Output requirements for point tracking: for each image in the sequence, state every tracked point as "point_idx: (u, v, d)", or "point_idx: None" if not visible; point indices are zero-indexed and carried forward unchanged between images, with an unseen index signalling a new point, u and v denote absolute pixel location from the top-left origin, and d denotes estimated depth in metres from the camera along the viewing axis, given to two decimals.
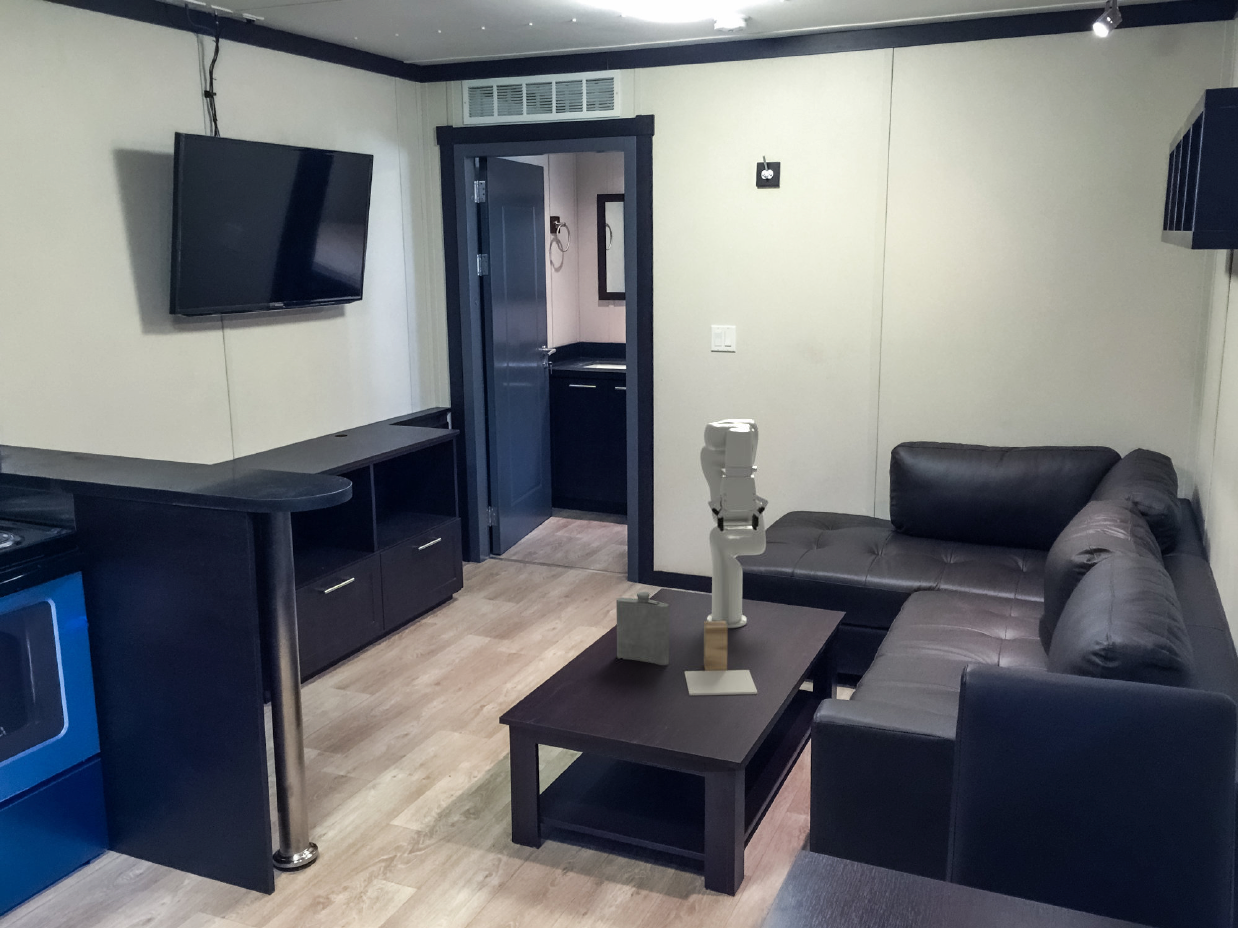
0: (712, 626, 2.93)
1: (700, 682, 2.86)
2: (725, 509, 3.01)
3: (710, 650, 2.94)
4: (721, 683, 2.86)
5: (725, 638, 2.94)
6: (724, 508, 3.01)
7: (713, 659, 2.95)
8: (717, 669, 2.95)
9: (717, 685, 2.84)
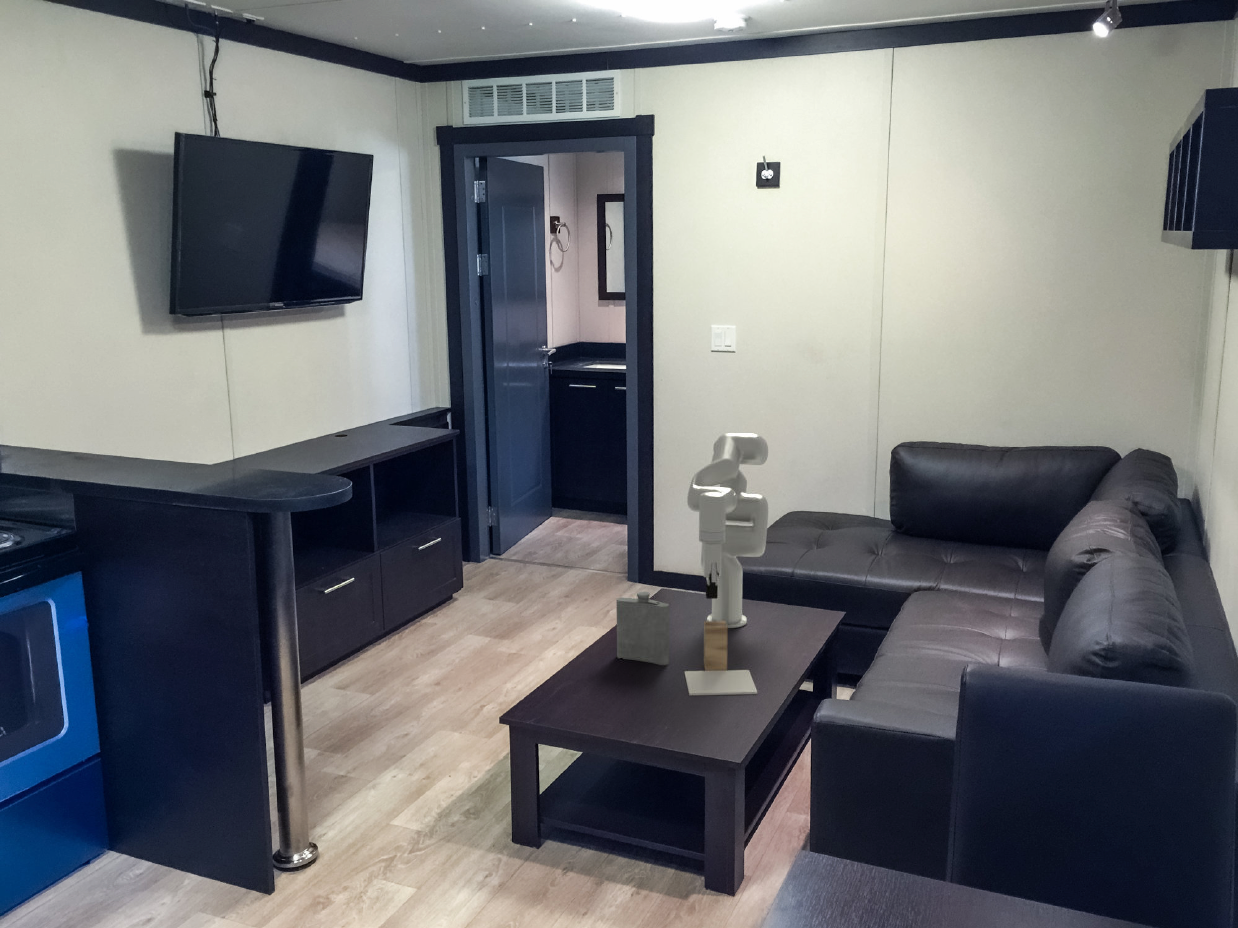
0: (712, 626, 2.93)
1: (700, 682, 2.86)
2: None
3: (710, 650, 2.94)
4: (721, 683, 2.86)
5: (725, 638, 2.94)
6: (720, 574, 2.98)
7: (713, 659, 2.95)
8: (717, 669, 2.95)
9: (717, 685, 2.84)
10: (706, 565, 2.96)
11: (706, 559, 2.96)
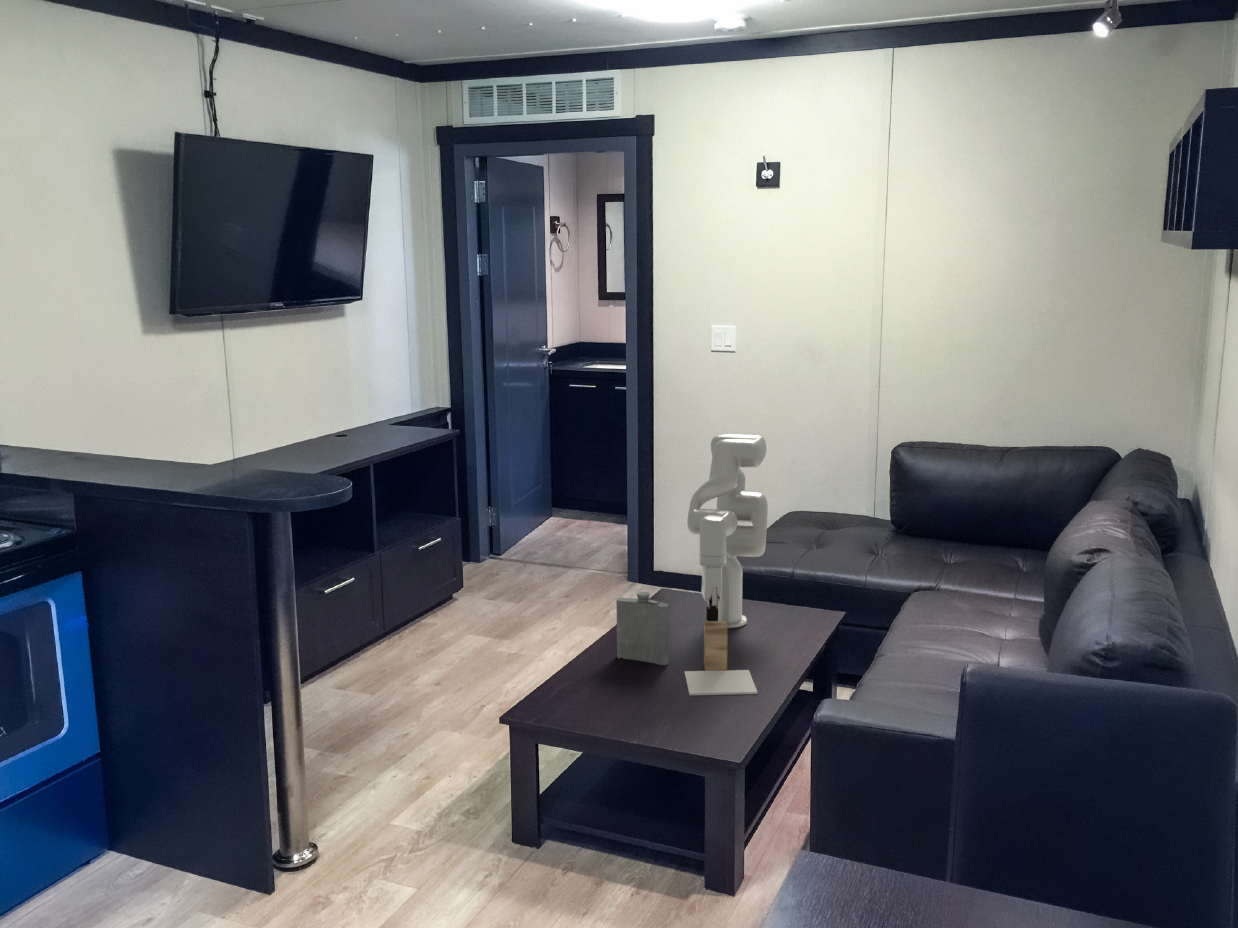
0: (712, 626, 2.93)
1: (700, 682, 2.86)
2: (720, 598, 2.98)
3: (710, 650, 2.94)
4: (721, 683, 2.86)
5: (725, 638, 2.94)
6: (721, 598, 2.98)
7: (713, 659, 2.95)
8: (717, 669, 2.95)
9: (717, 685, 2.84)
10: (707, 589, 2.96)
11: (707, 583, 2.96)
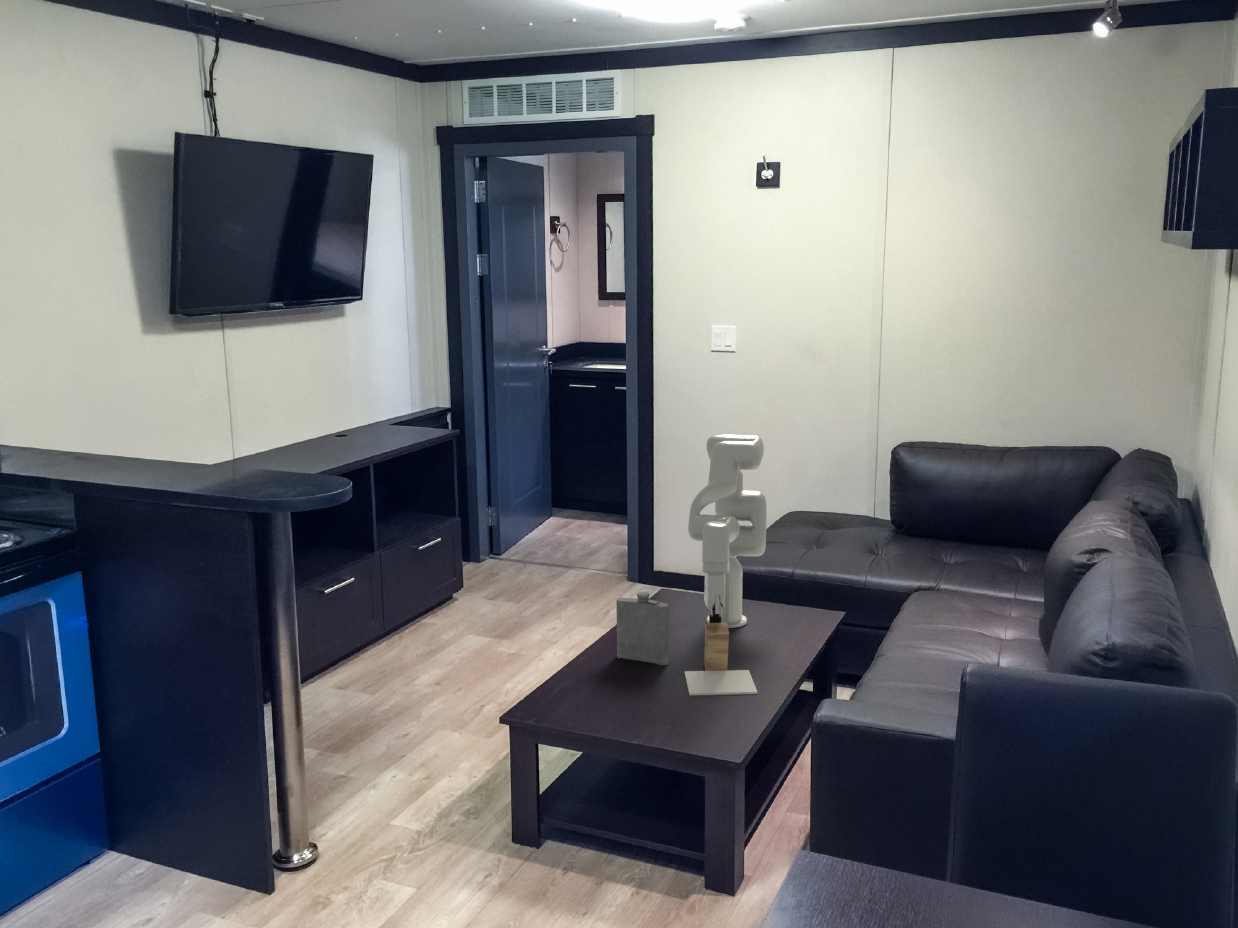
0: (714, 633, 2.90)
1: (700, 682, 2.86)
2: (724, 606, 2.91)
3: (711, 654, 2.93)
4: (721, 683, 2.86)
5: (726, 643, 2.91)
6: (724, 606, 2.91)
7: (713, 661, 2.94)
8: (717, 669, 2.95)
9: (717, 685, 2.84)
10: (709, 597, 2.89)
11: (709, 590, 2.89)
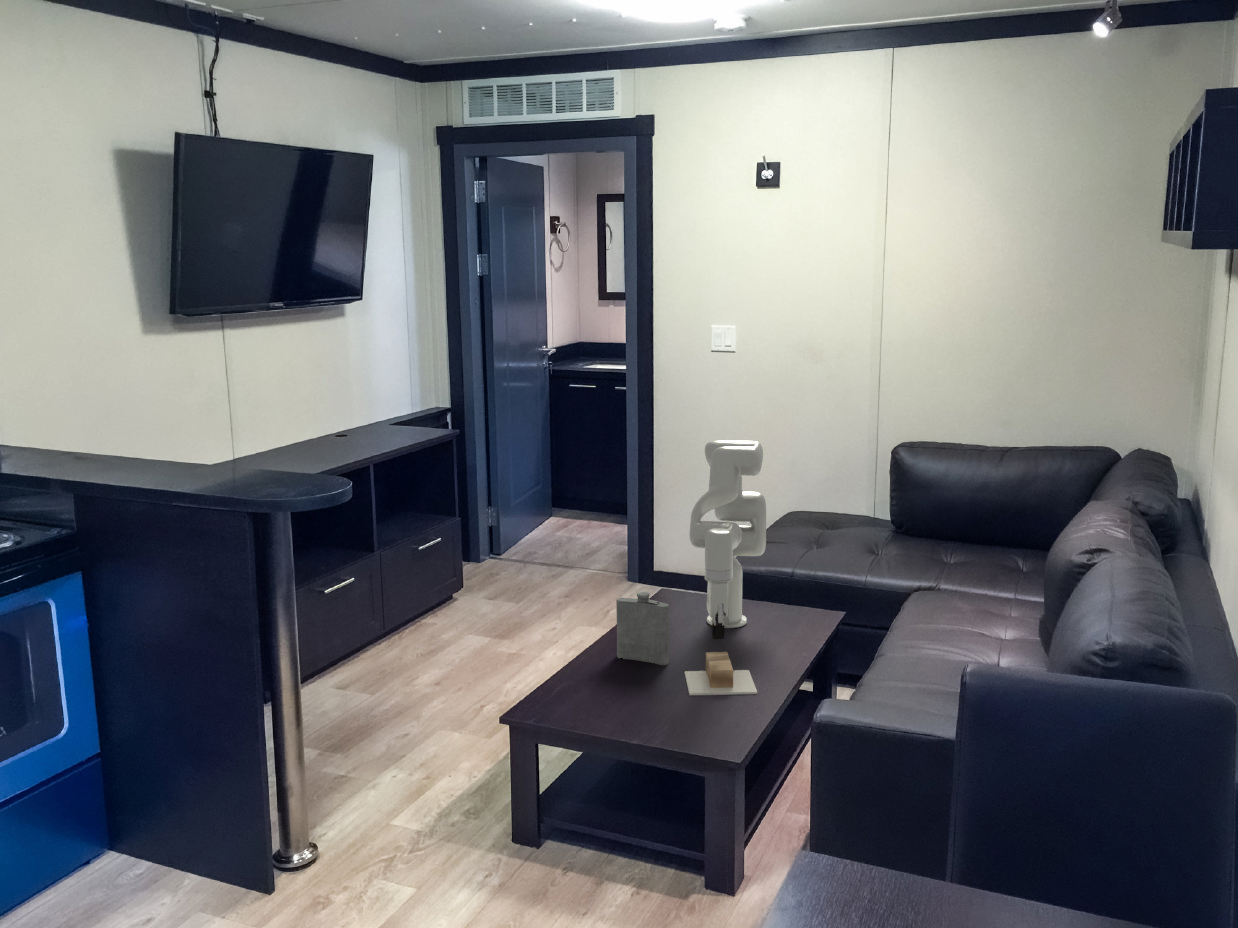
0: (717, 686, 2.83)
1: (700, 682, 2.86)
2: (727, 615, 2.84)
3: None
4: None
5: None
6: (727, 614, 2.84)
7: None
8: None
9: None
10: (712, 605, 2.83)
11: (712, 599, 2.83)
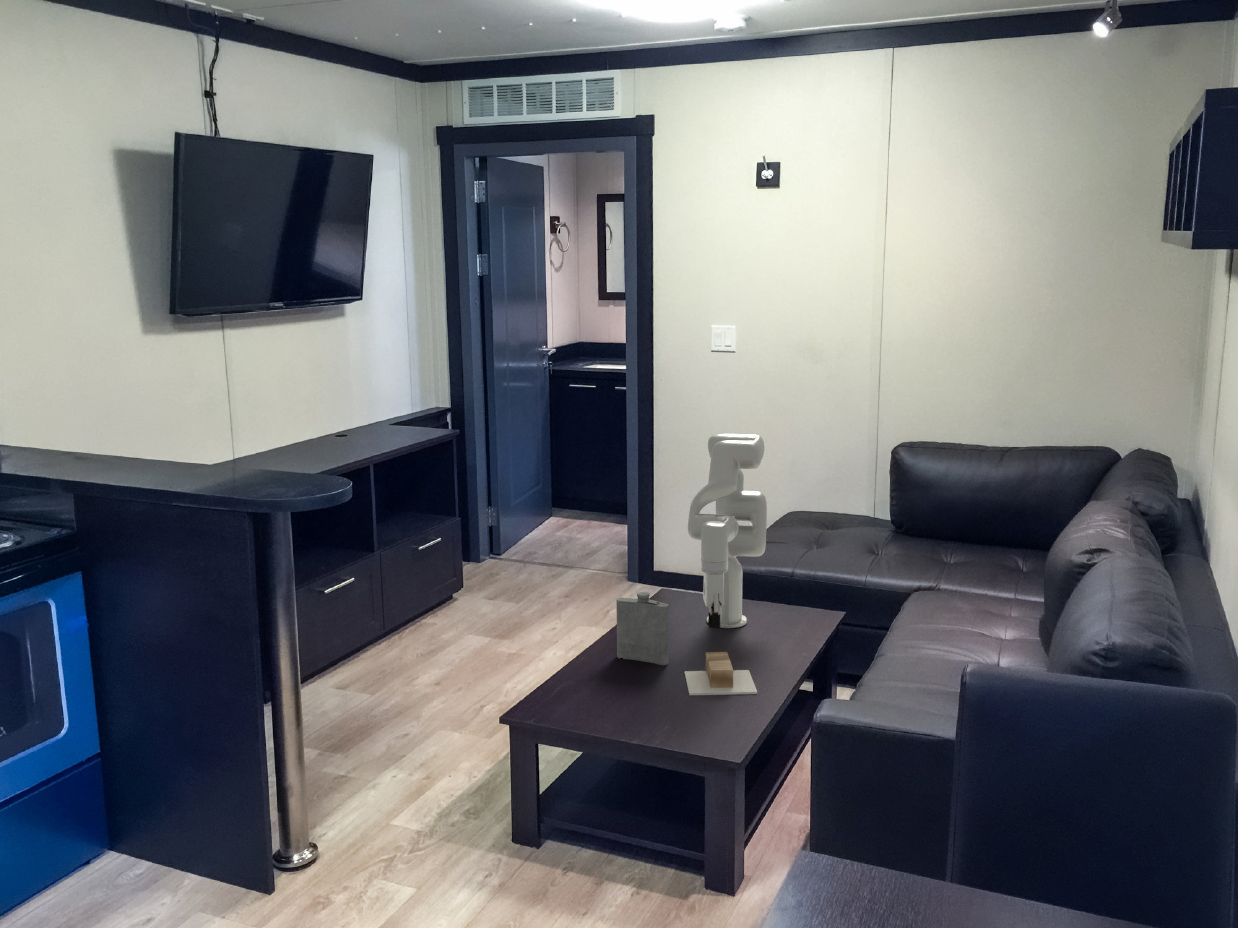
0: (717, 686, 2.83)
1: (700, 682, 2.86)
2: (722, 605, 2.94)
3: None
4: None
5: None
6: (723, 604, 2.94)
7: None
8: None
9: None
10: (708, 595, 2.93)
11: (708, 589, 2.93)
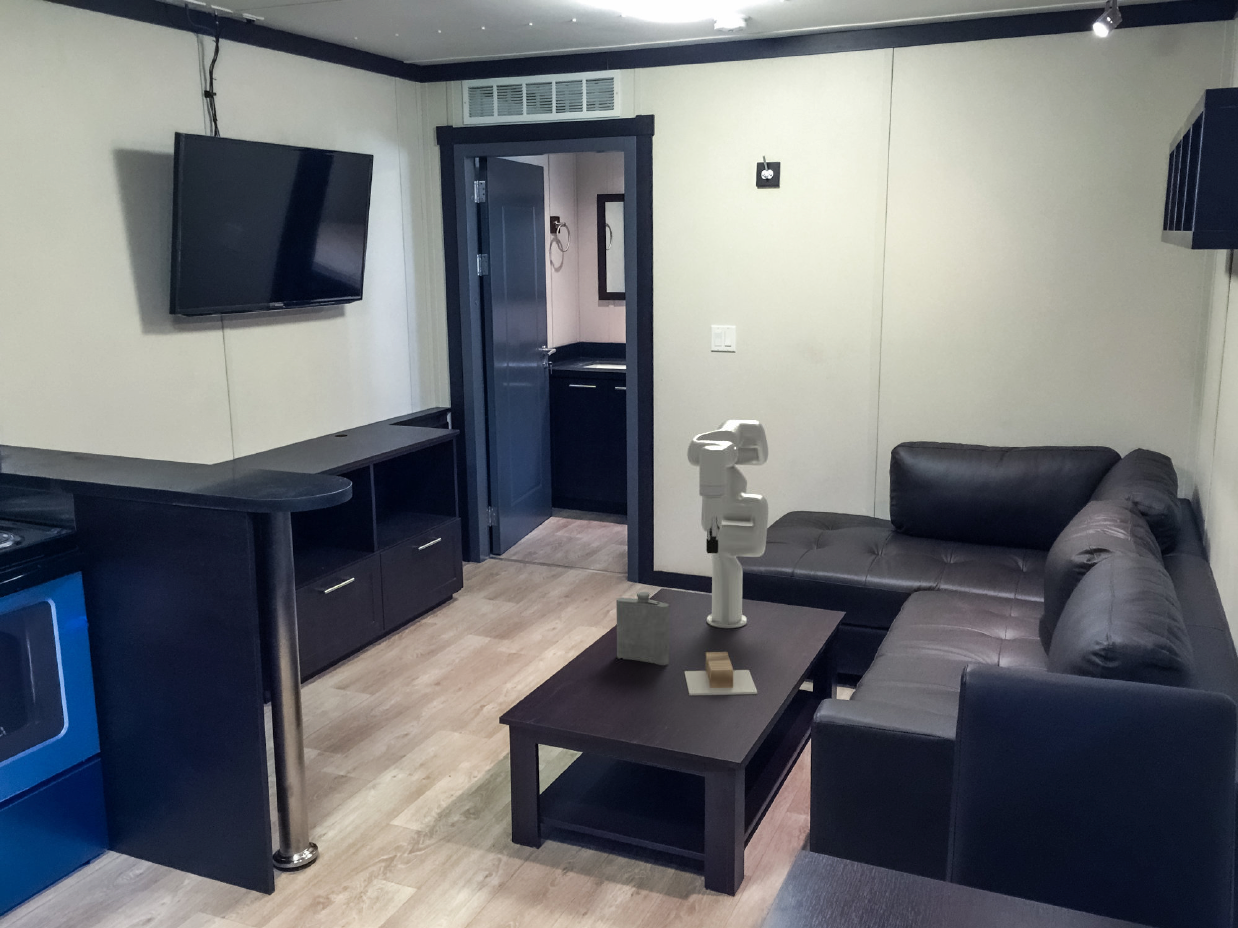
0: (717, 686, 2.83)
1: (700, 682, 2.86)
2: (720, 529, 2.96)
3: None
4: None
5: None
6: (721, 528, 2.95)
7: None
8: None
9: None
10: (706, 519, 2.94)
11: (706, 513, 2.94)
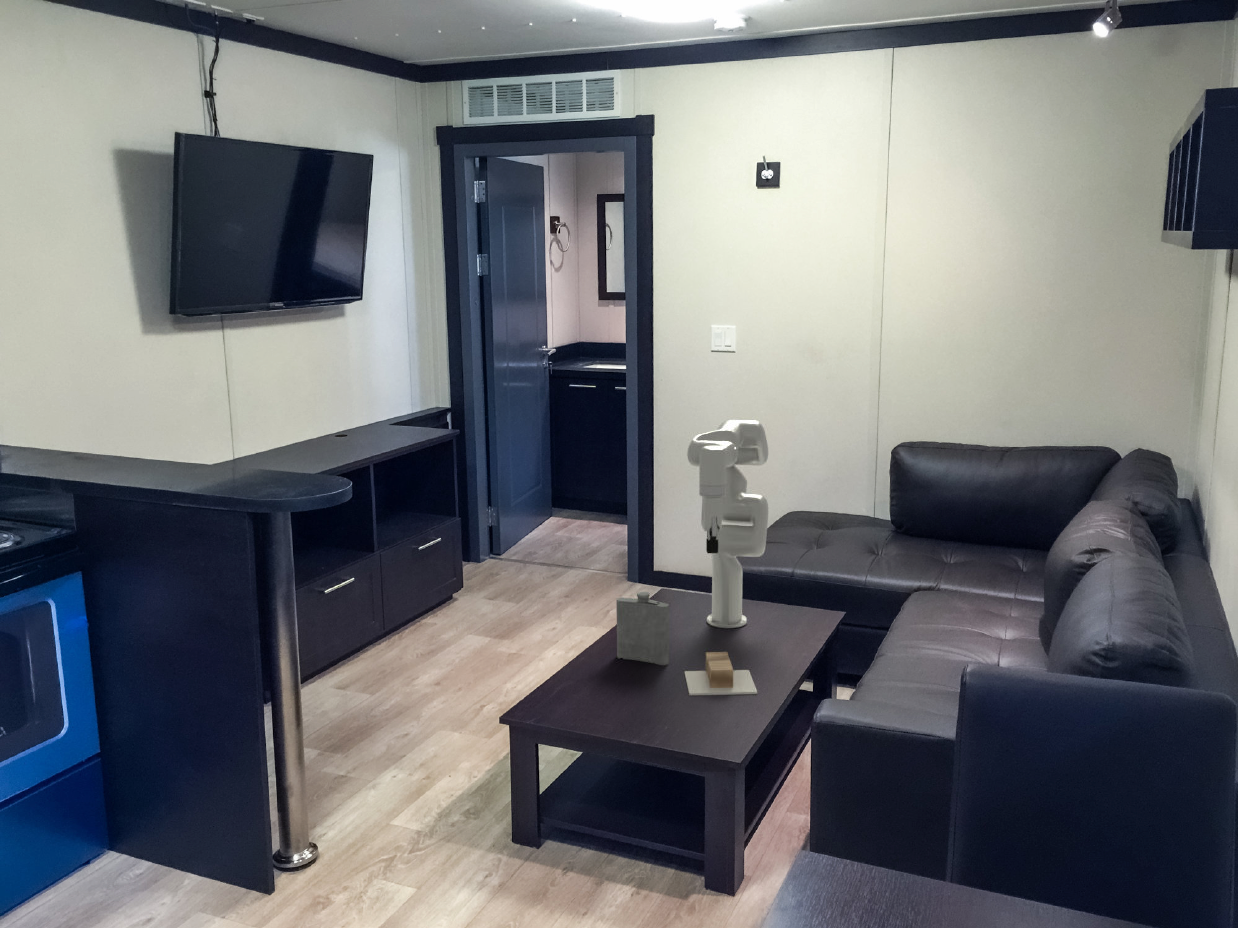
0: (717, 686, 2.83)
1: (700, 682, 2.86)
2: (720, 529, 2.96)
3: None
4: None
5: None
6: (721, 528, 2.95)
7: None
8: None
9: None
10: (706, 519, 2.94)
11: (706, 513, 2.94)
